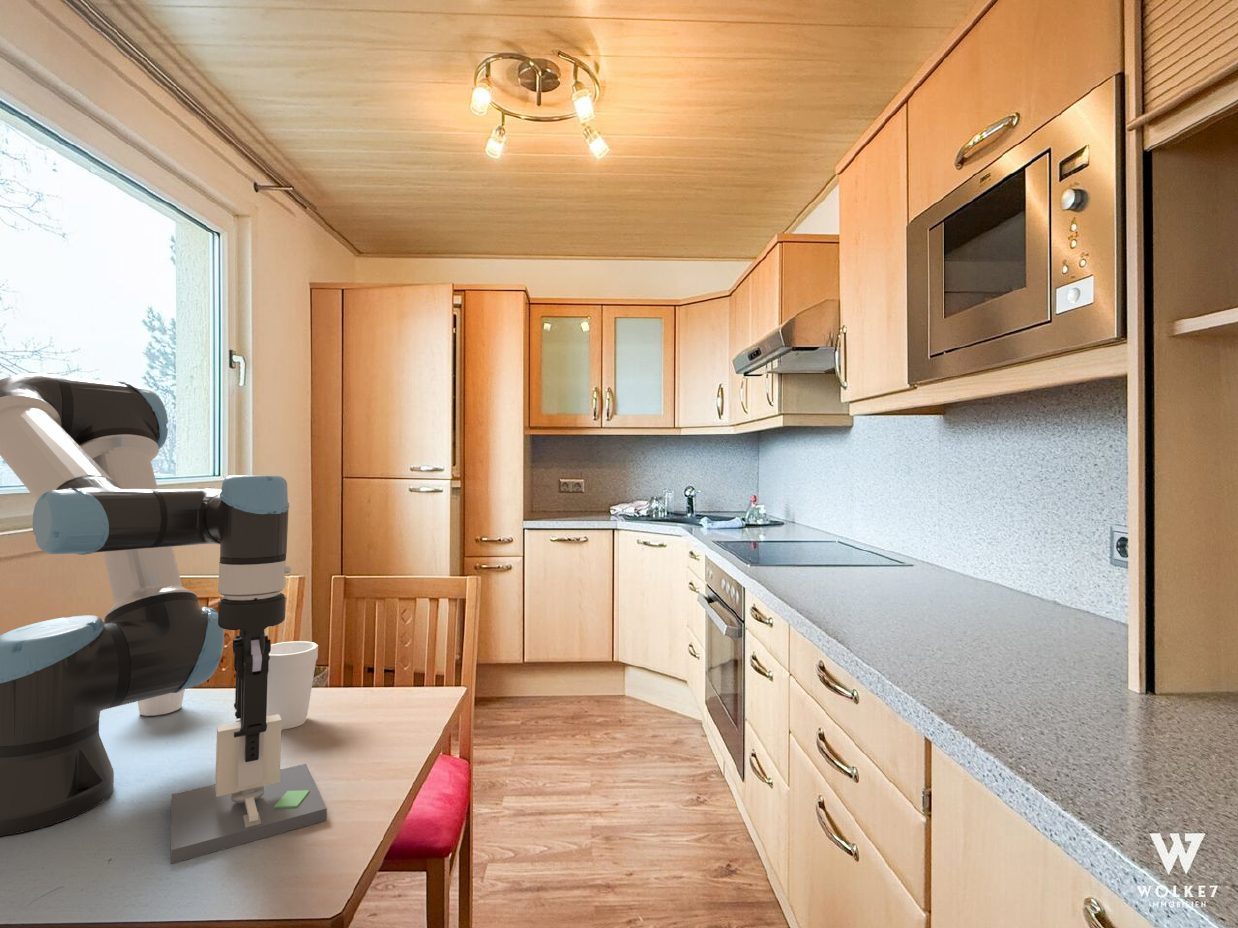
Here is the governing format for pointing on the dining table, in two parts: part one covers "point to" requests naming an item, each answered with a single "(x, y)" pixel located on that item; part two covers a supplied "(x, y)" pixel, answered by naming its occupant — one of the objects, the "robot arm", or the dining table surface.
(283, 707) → the foam cup
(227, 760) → the cream angular block
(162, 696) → the cup
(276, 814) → the base
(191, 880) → the dining table surface
